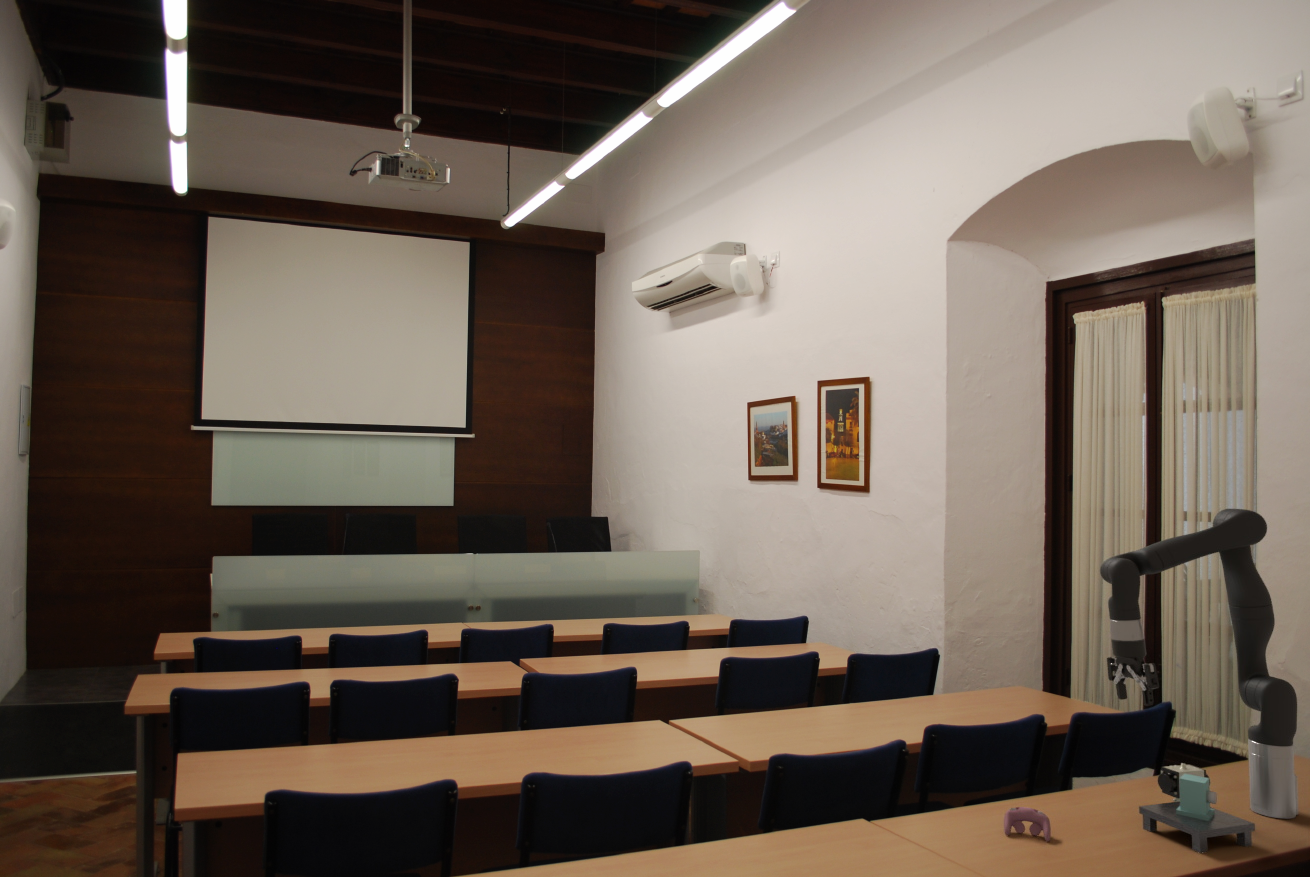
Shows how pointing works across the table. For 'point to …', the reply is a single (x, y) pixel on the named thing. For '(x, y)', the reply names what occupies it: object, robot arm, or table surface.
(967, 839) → the table surface
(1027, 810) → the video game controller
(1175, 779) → the pneumatic valve
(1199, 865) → the table surface
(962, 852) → the table surface
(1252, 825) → the stand
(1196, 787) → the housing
